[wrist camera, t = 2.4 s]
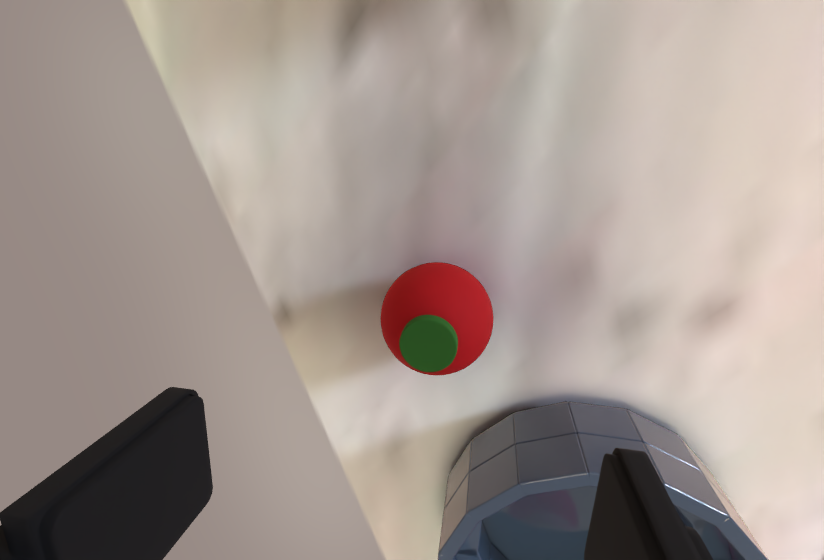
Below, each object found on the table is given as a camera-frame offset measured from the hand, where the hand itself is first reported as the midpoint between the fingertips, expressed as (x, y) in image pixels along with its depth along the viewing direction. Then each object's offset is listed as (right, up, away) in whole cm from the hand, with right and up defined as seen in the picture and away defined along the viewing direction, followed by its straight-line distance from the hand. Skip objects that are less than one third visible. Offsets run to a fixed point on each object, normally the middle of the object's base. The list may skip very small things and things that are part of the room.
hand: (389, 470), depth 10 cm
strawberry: (+2, +4, +9) cm, 10 cm away
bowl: (+8, -7, +11) cm, 16 cm away
